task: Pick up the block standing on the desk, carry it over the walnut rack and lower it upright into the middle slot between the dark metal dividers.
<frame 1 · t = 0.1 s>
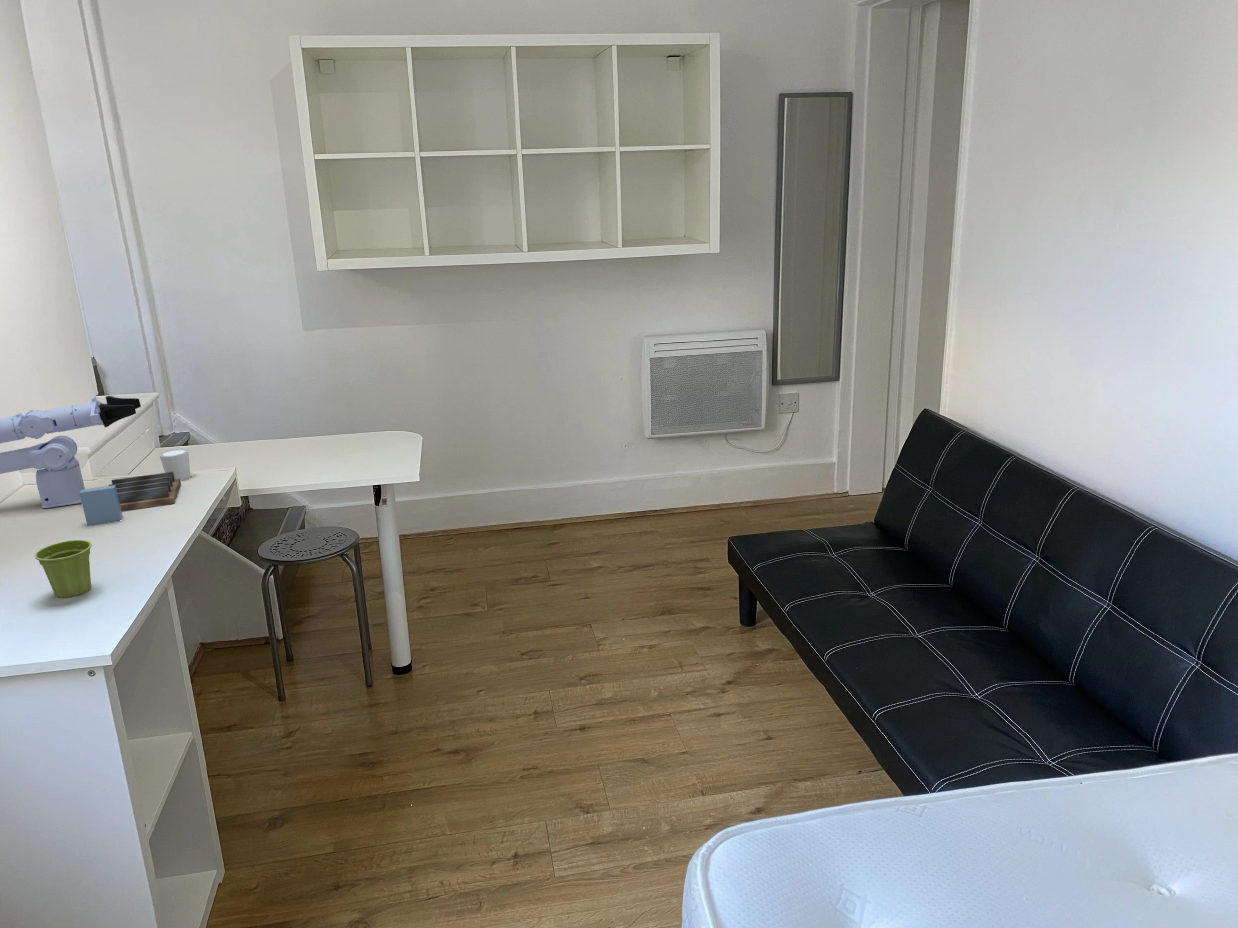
hand: (137, 405, 230), 22 cm above the table, tool horizontal, fingers open, 7 cm apart
rack: (142, 498, 229), on the table
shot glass: (179, 479, 244), on the table
block: (105, 521, 215), on the table
plant pot: (74, 592, 178), on the table
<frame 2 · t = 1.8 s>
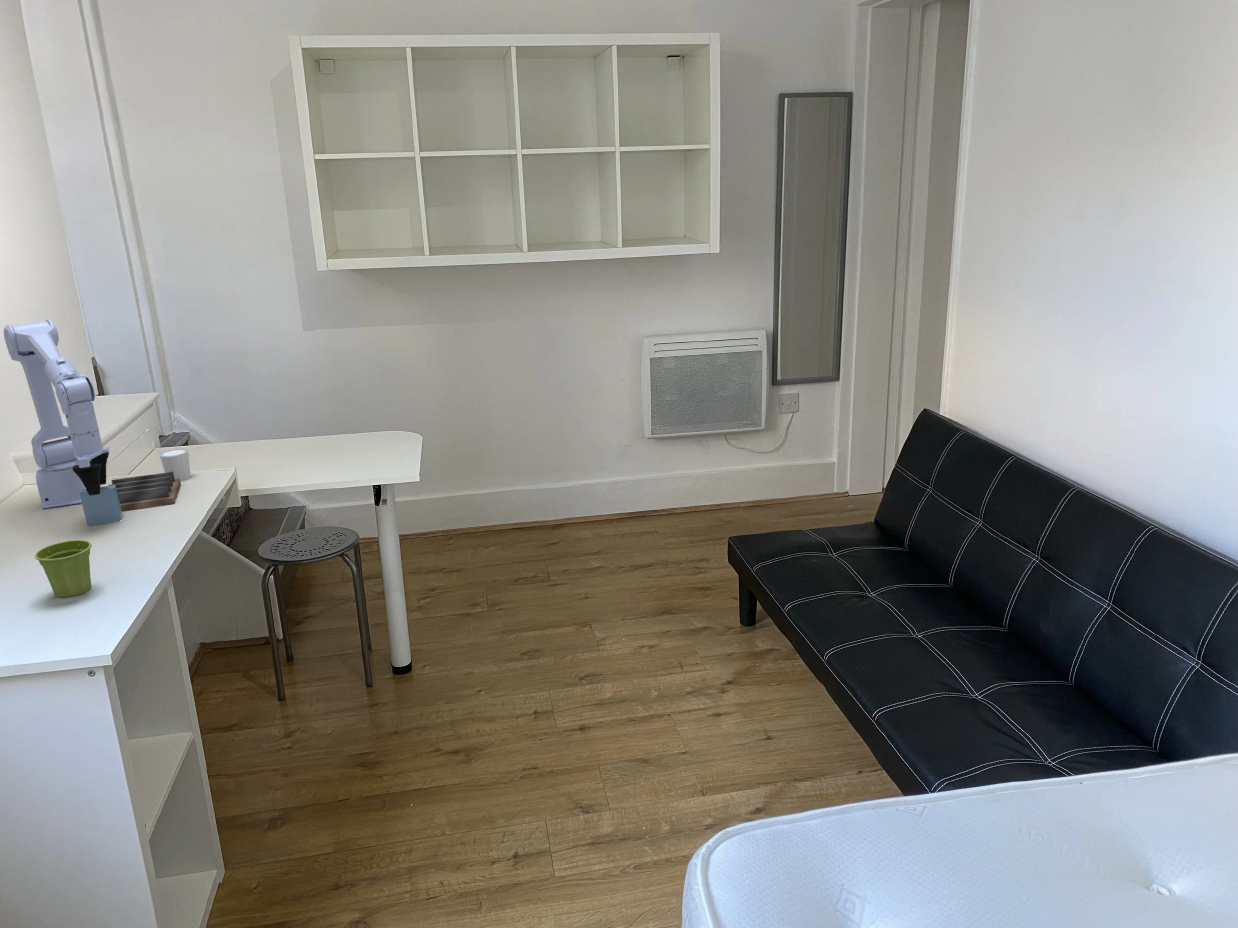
hand: (97, 489, 213), 8 cm above the table, tool pointing down, fingers open, 7 cm apart
nothing on the table moved.
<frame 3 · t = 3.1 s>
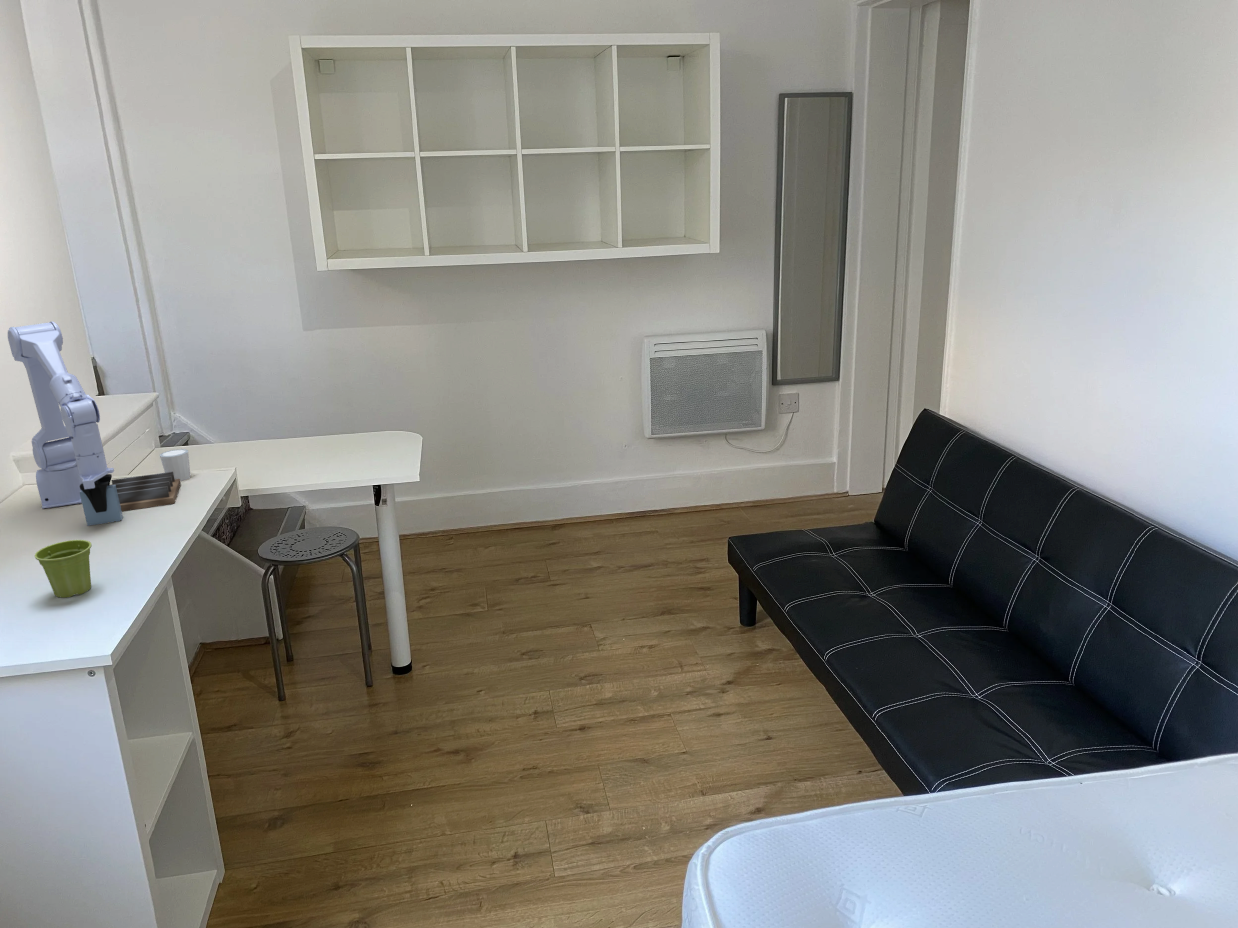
hand: (102, 509, 214), 3 cm above the table, tool pointing down, fingers closed on block, 2 cm apart
block: (105, 521, 215), on the table, touching gripper
everything else where it was.
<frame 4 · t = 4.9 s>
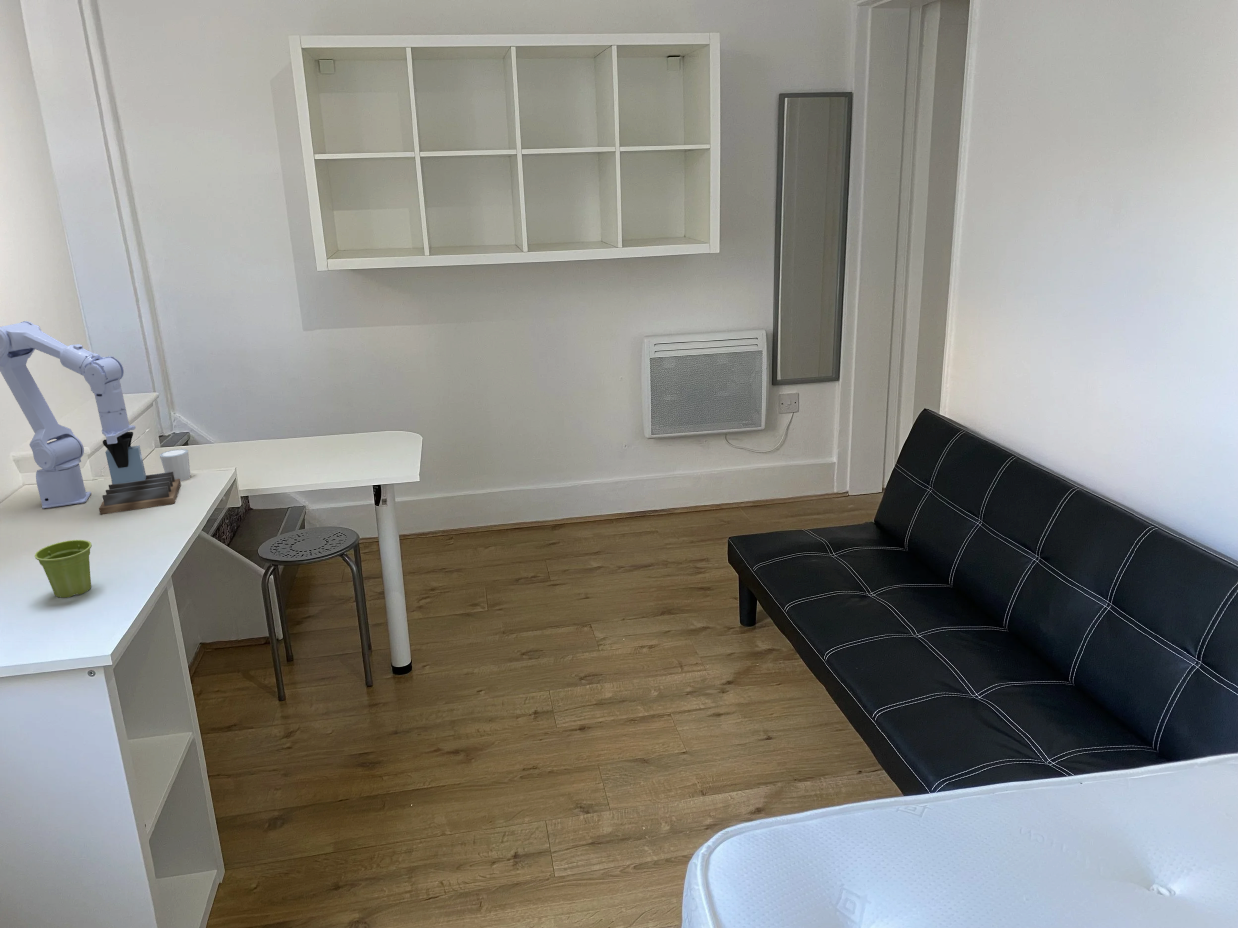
hand: (124, 465, 223), 10 cm above the table, tool pointing down, fingers closed on block, 2 cm apart
block: (129, 480, 224), point 6 cm above the table, touching gripper
everything else where it was.
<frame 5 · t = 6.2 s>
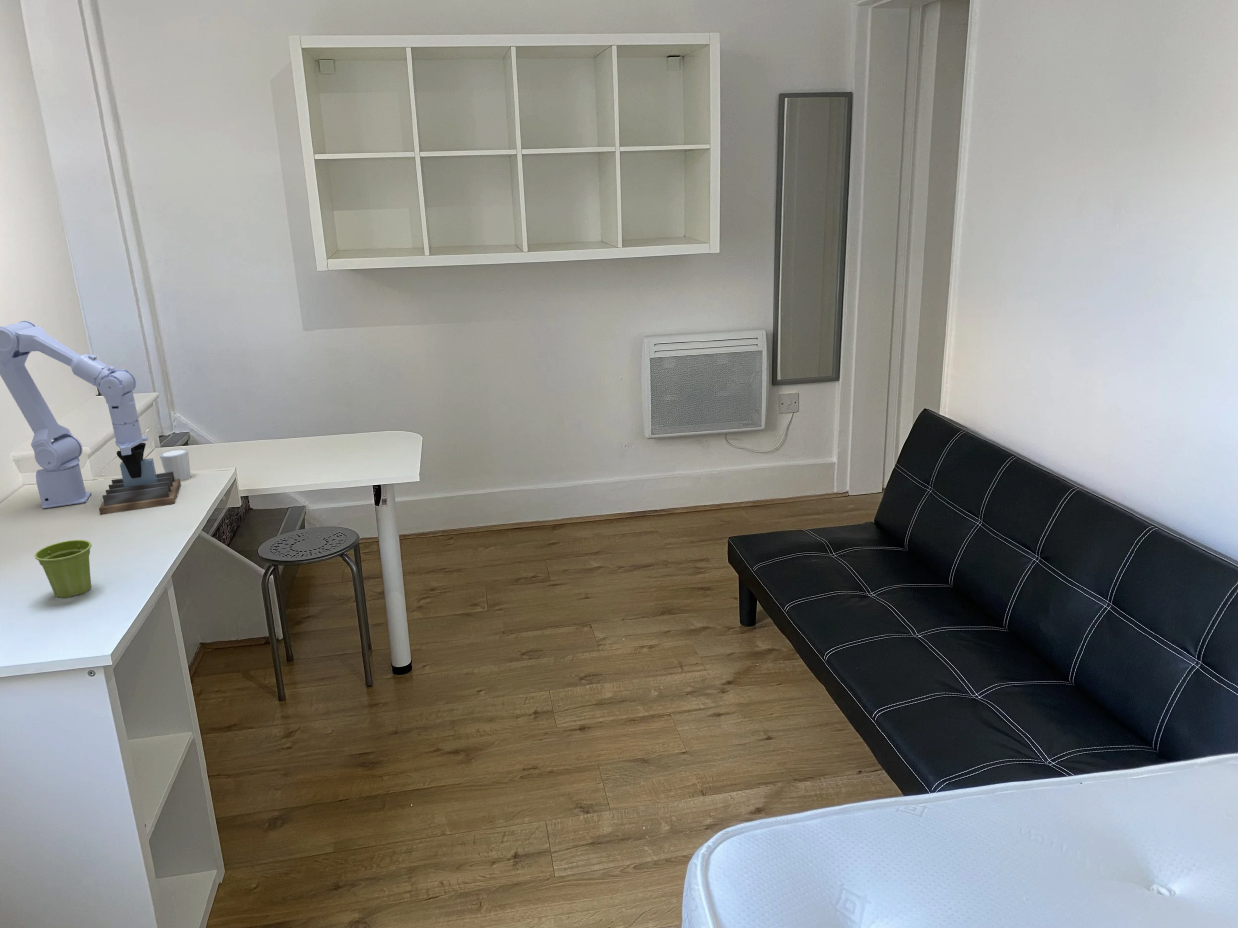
hand: (137, 475, 228), 6 cm above the table, tool pointing down, fingers closed on block, 2 cm apart
block: (142, 492, 229), point 2 cm above the table, touching gripper, rack
everything else where it was.
when the fingers open (6 cm above the table, at t = 6.8 s): block stays where it is, resting on rack.
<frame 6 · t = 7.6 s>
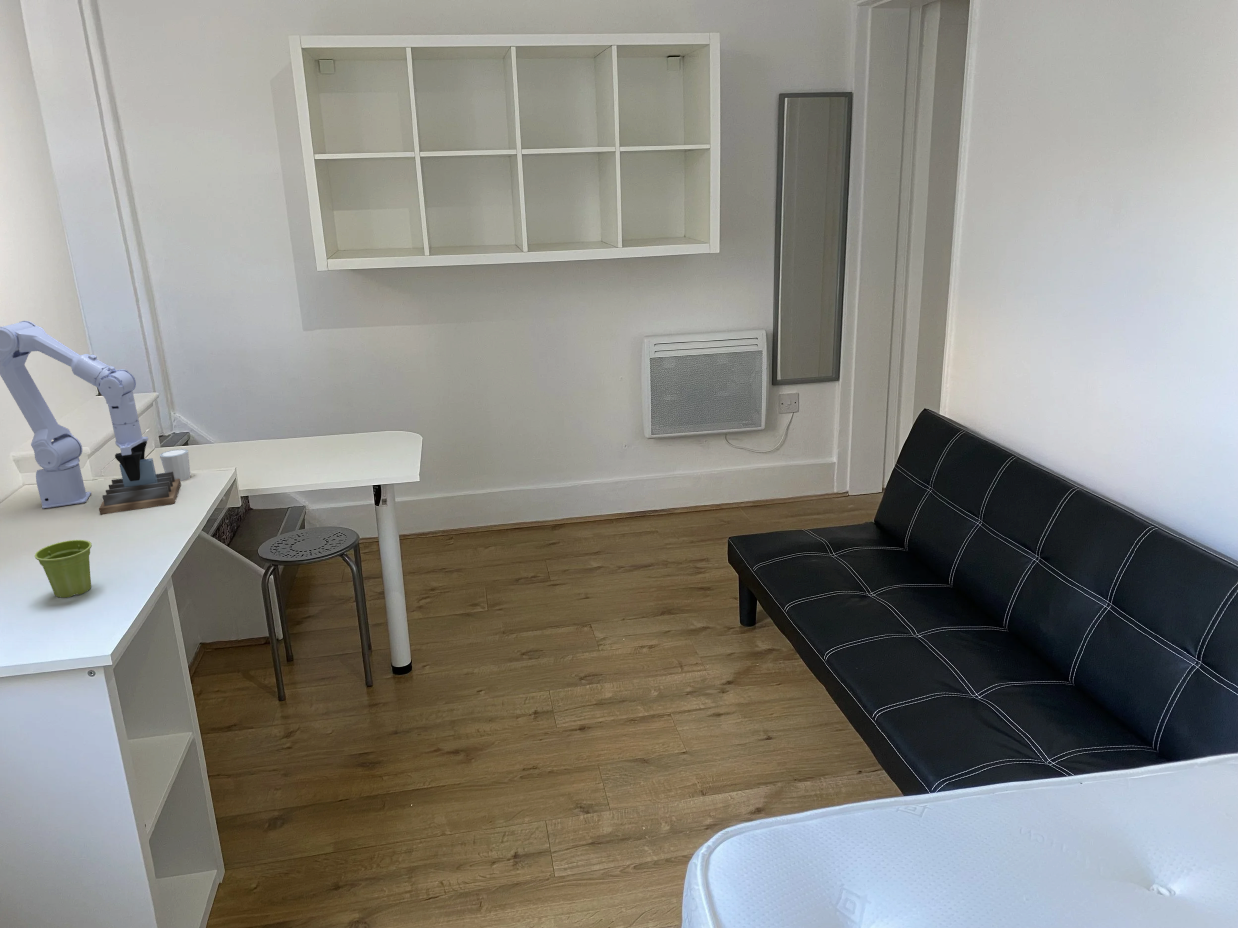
hand: (137, 475, 228), 6 cm above the table, tool pointing down, fingers open, 7 cm apart
block: (142, 492, 229), point 1 cm above the table, touching rack
everything else where it was.
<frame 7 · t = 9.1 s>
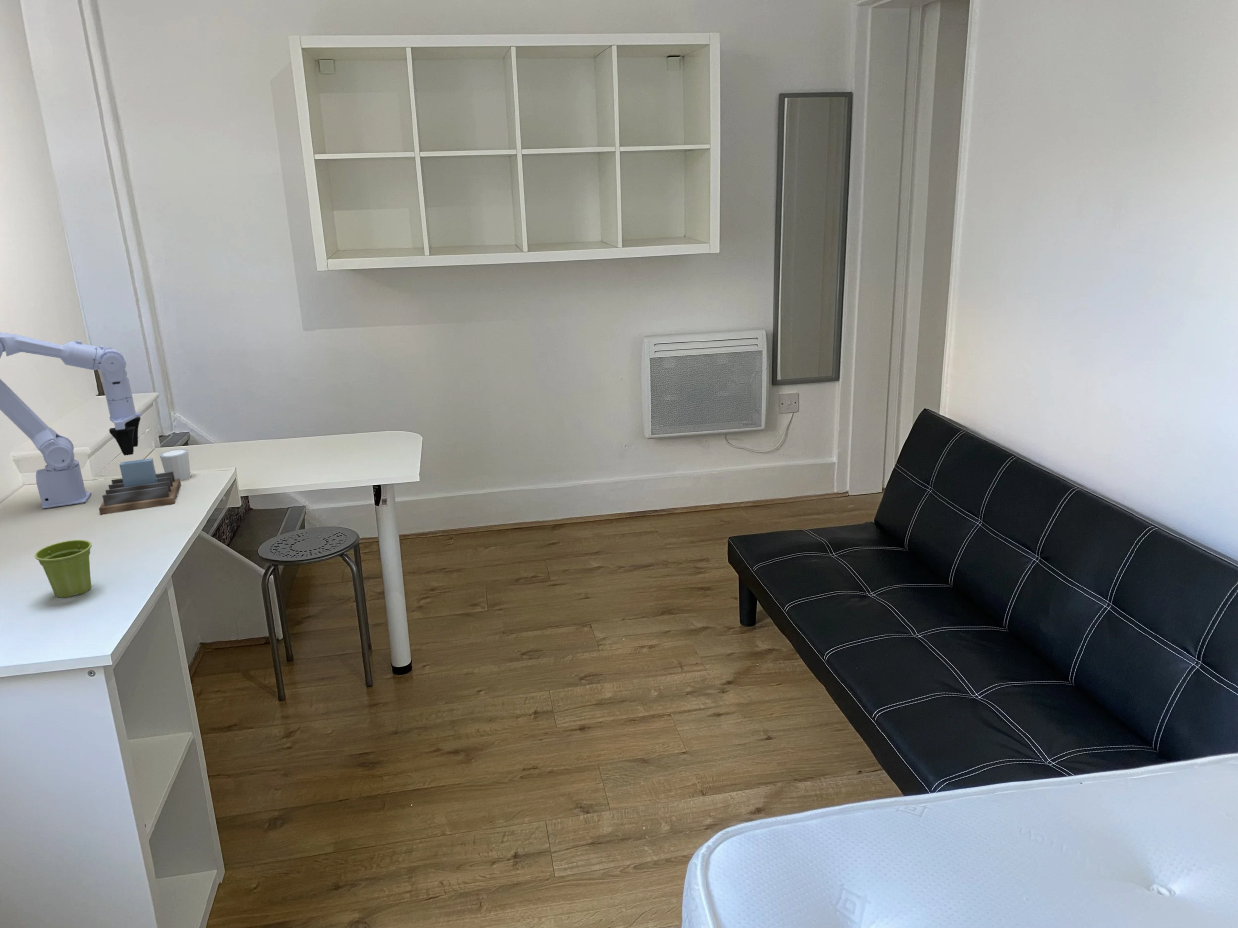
hand: (130, 450, 235), 10 cm above the table, tool pointing down, fingers open, 7 cm apart
nothing on the table moved.
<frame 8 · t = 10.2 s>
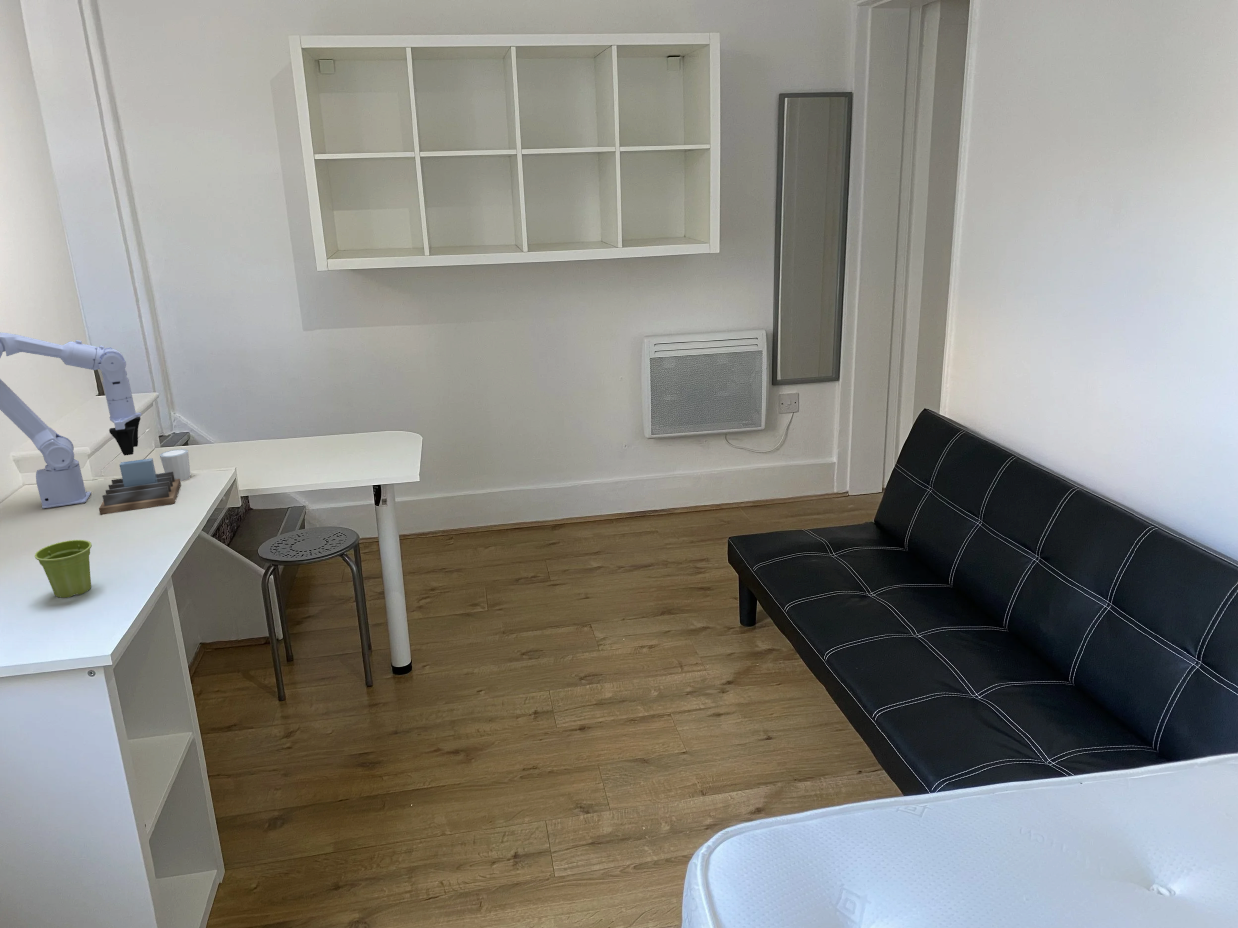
hand: (130, 450, 235), 10 cm above the table, tool pointing down, fingers open, 7 cm apart
nothing on the table moved.
at the end: block 0.4 cm off-centre on the rack, point 1.5 cm above the rack's base; block tilted 0°; the gripper is holding nothing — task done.
